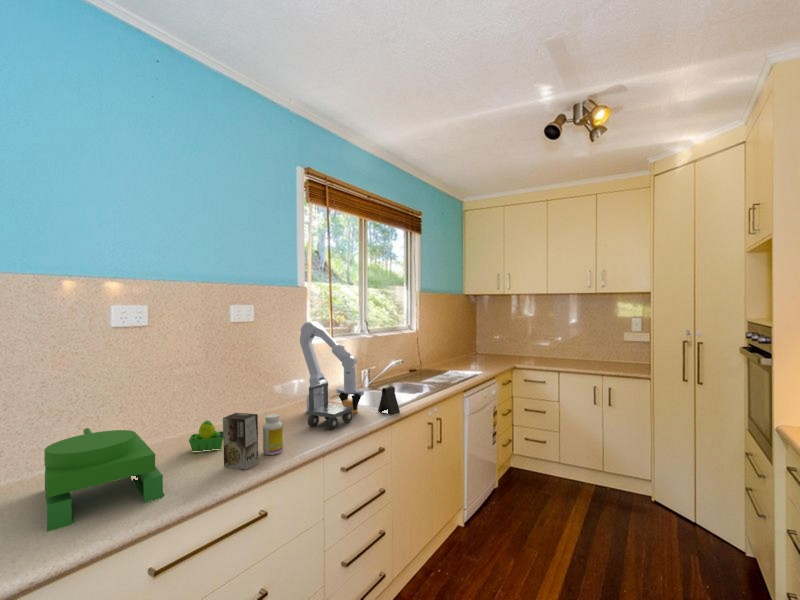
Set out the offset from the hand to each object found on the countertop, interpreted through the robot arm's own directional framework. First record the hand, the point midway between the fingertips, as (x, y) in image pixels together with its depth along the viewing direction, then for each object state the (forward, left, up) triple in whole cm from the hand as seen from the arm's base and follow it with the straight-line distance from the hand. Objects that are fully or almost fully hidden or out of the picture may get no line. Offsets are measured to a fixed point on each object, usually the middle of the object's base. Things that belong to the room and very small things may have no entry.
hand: (350, 409), depth 193 cm
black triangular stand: (+17, +7, -2) cm, 19 cm away
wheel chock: (0, -2, -2) cm, 2 cm away
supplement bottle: (+5, -56, -2) cm, 56 cm away
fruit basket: (-19, -64, -2) cm, 66 cm away
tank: (-18, -98, -2) cm, 100 cm away
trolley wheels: (+3, -20, -2) cm, 20 cm away
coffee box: (+4, -69, -2) cm, 69 cm away
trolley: (+3, -20, +3) cm, 20 cm away
